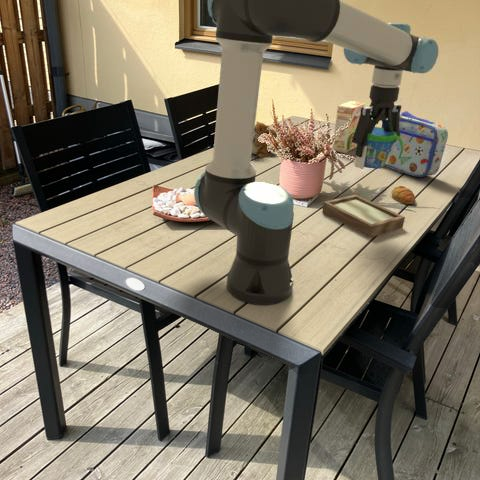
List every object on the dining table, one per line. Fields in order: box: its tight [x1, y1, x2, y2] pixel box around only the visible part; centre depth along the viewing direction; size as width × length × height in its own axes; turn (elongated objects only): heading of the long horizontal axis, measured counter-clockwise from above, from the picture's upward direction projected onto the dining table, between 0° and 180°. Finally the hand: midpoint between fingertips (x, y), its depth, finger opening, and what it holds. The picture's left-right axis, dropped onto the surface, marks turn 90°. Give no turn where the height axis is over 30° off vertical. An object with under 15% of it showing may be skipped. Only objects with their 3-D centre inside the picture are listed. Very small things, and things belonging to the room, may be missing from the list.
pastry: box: [390, 185, 417, 205], centre depth 168 cm, size 9×7×4 cm
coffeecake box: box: [331, 100, 366, 154], centre depth 218 cm, size 15×7×20 cm, turn 147°
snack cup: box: [347, 126, 403, 170], centre depth 142 cm, size 16×10×10 cm
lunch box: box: [380, 111, 449, 178], centre depth 193 cm, size 28×10×22 cm, turn 34°
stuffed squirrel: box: [252, 121, 277, 158], centre depth 206 cm, size 10×14×13 cm
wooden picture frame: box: [322, 194, 406, 238], centre depth 151 cm, size 14×20×4 cm
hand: (371, 165), depth 144 cm, fingers closed on snack cup, 9 cm apart
